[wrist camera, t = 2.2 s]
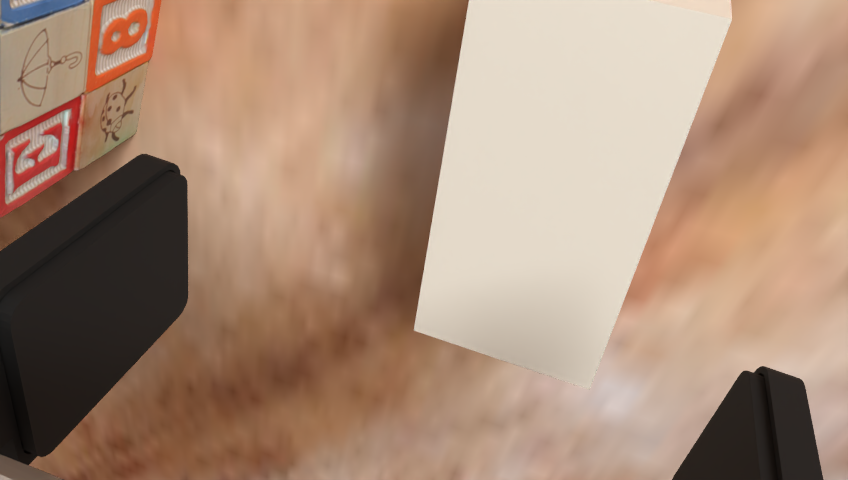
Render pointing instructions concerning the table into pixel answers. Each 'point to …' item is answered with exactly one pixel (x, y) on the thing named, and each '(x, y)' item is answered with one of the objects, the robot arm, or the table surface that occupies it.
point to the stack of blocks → (68, 86)
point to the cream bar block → (559, 170)
